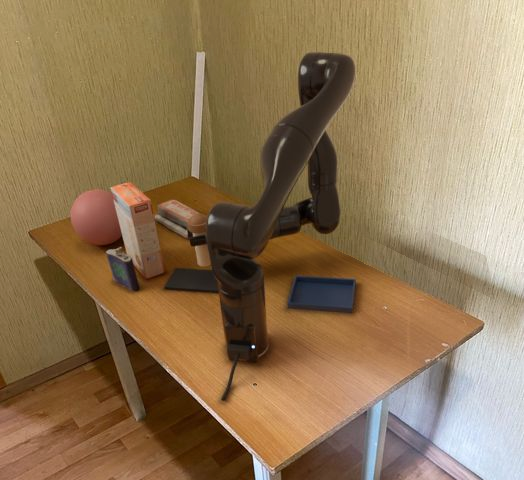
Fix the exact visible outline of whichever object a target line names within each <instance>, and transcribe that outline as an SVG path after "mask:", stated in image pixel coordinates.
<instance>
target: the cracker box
mask: <svg viewBox="0 0 524 480" xmlns="http://www.w3.org/2000/svg"><path fill="white" fill-rule="evenodd" d="M110 191H111V192H110V193H112V196H113V200H114V204H115V208H116V212H117V216H118V220H119V224H120V228H121V232H122V236H121V237H122V240H123V245H124V249H125V254H127V255H128V256H129V257H131V258H132V260H133V265H134V268H136V269H137V271H138V272H139V273H140V274H141V276H142V277H143V278H144V279H145V280H148V279H152V278H154V277H156V276H160V275H163V274H165V273H166V272H165V271H166V270H165V266H164V261H163V256H162V250H161V245H160V241H159V240H160V239H159V236H158V230H157V227H156V226H157V225H156V220H155V219H154V215H155V214H154V210H153V205H152V201H151V199H150V198H149V197H148V196H147V195H146V194H144V192H143V191H141V190H140V189H139V188H138V187H137V186H136V185H134V183H133V182H132V181H128V182H124V183H120V184H117V185H113V186H110Z"/></svg>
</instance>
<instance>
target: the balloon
mask: <svg viewBox="0 0 524 480" xmlns="http://www.w3.org/2000/svg"><path fill="white" fill-rule="evenodd" d="M70 222H71V226H72V228H73V230H74V232H75V233H76V234H77V236H78V237H80V239H82V241H85V242H86V243H88V244H91V245H95V246H107V245H110V244H113V243H114V242H117V241H118V240H119V239H120V238H121V237H123V236H122V232H121V228H120V224H119V220H118V216H117V212H116V208H115V204H114V200H113V196H112V192H109V190H104V189H98V188H97V189H90V190H86V191H83V192H82V193H80V194H79V195H78V196H77V197H76V199H75V200H74V201H73V203H72V205H71V208H70Z"/></svg>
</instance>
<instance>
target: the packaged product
mask: <svg viewBox="0 0 524 480" xmlns="http://www.w3.org/2000/svg"><path fill="white" fill-rule="evenodd" d="M196 213H199V212H198V211H197V210H195V209H193V208H191V207H189V206H187V205H185V204H183V203H182V202H180V201H179V200H176V199H169V200H167V201H164V202H162V203H160V204H158V205H157V214H153V215H154V220H155V222H156V221H157V222H159V223H160V224H161V225H163V226H164V227H166V228H167V229H169V230H170V231H173V232H175V233H176V234H178V235H180V236H182V237H183V238H185V239H186V240H187V239H189V237H188V233H187V230H188V223H187V221H188V219H190V218H191V216H192V215H194V214H196Z"/></svg>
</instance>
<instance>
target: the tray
mask: <svg viewBox="0 0 524 480" xmlns="http://www.w3.org/2000/svg"><path fill="white" fill-rule="evenodd" d="M356 285H357V279H356V278H344V277H343V278H342V277H330V276H329V277H328V276H312V275H297V274H296V275H294V277H293V281H292V284H291V289H290V291H289V296H288V299H287V302H286V304H287V307H286V308H287V309H288V310H290V309H291V310H302V311H316V312H328V313H344V314H353V311H354V310H353V309H354V301H355V293H356Z"/></svg>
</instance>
